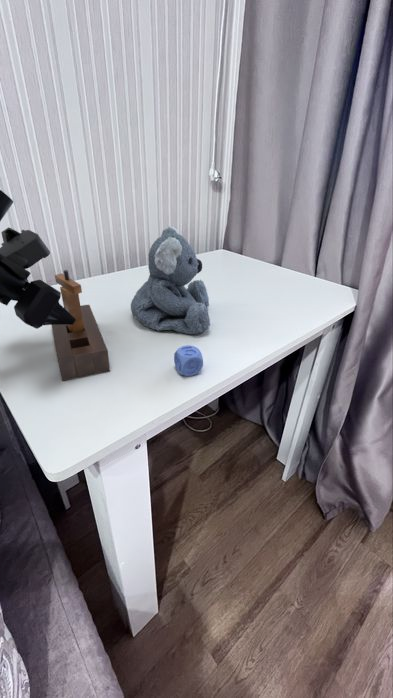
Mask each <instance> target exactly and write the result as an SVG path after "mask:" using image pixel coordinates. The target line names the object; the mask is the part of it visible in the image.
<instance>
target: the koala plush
mask: <svg viewBox="0 0 393 698" xmlns="http://www.w3.org/2000/svg"><path fill="white" fill-rule="evenodd" d="M147 259H148V260H147V261H148V264H147V265H148V273H149V275H148V279H147V281H145V282H144V283H143V284H142V285H141V287H140V288H139V289H137V291H136V292H135V295H134V296H133V298H132V300H131V303H130V311H131V314H132V316H133V317H134V318H135V319H136V320H138V321H139V323H141V324H142V325H143V326H145V327H147V328H150V329H153V330H155V331H158V332H159V331H174V332H177V333H181V334H187V335H198V334H203V333H205V332H206V331H208V330H209V329H210V326H211V319H210V315H209V310H208V309H207V308H208V307H209V306H210V302H209V301H210V300H209V294H208V290H207V287H206V285H205V282H204V281H203V280H202V279H200V280H199V279H198V280H197V279H196V280H193V279H194V278H195V277H196V276H197V274H200V273H201V272H202V271H203V262H202V261H201V259H199V258H198V257H197V255H196V253H195V250H194V249H193V248H192V246H191V245H190V244H189V242H188V240H187V239H186V238H185V236H183V235H182V234H180V233H179V231H178V229H177V228H175V227H173V226H167V227H165V228H164V229H162V232H161V234H160V236H159V237H157V239H156V240H154V241H153V243H152V244H151V246H150V248H149V252H148V258H147ZM186 285H187V288H186Z"/></svg>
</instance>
